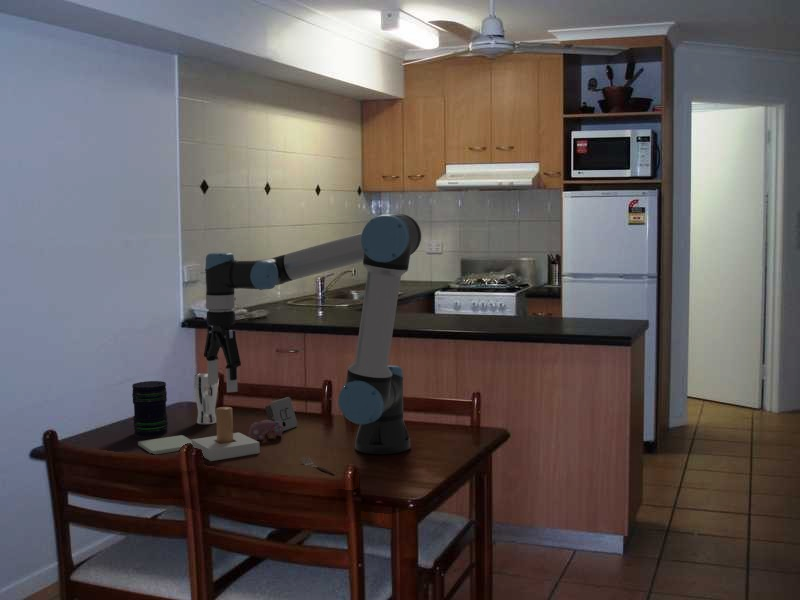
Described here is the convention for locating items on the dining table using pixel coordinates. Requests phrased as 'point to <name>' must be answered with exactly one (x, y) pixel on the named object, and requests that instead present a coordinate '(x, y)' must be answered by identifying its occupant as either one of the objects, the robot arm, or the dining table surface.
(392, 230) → the robot arm
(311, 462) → the fork
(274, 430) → the pink animal figurine
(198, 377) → the beer glass
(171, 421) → the dining table surface
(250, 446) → the white square flat box
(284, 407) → the electrical switch
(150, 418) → the storage jar
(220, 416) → the plug
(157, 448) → the mat
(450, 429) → the dining table surface
